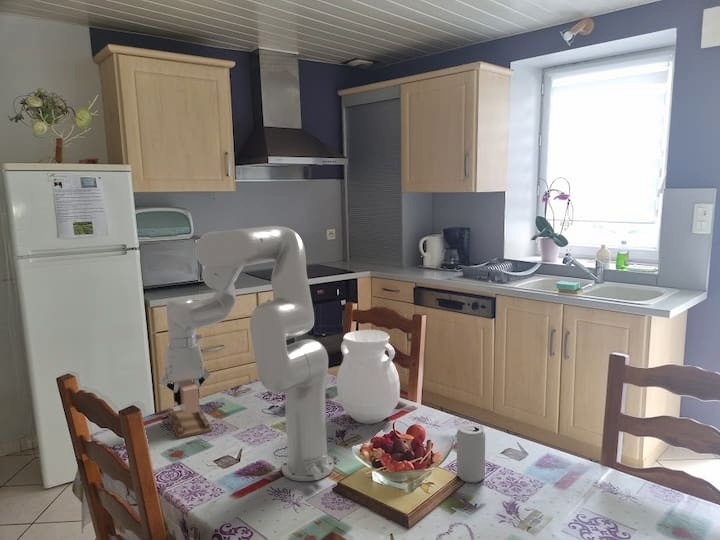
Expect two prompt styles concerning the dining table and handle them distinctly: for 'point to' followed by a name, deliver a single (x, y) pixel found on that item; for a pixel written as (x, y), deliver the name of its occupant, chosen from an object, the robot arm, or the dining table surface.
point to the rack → (188, 423)
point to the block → (189, 397)
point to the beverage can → (471, 452)
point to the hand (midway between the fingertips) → (187, 401)
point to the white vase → (368, 376)
